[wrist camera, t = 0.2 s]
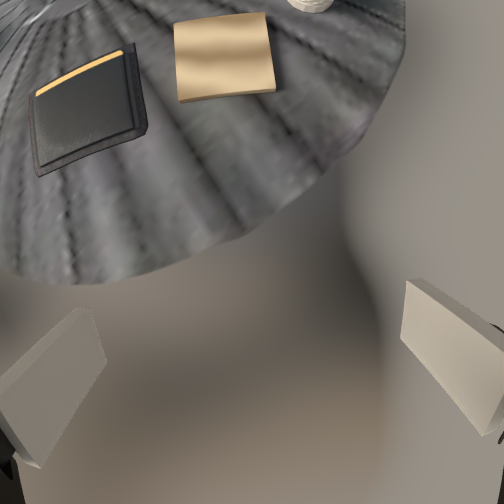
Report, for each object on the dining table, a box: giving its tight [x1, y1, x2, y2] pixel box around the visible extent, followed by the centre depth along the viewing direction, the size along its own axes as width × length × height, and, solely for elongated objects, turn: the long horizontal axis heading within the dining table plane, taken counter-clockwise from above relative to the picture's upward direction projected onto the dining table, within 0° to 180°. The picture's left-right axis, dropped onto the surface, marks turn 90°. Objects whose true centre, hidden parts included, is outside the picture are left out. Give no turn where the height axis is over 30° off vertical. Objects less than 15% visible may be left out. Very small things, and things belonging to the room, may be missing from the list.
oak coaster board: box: [174, 12, 276, 103], centre depth 32 cm, size 12×12×2 cm
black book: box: [29, 43, 148, 178], centre depth 33 cm, size 20×2×15 cm
